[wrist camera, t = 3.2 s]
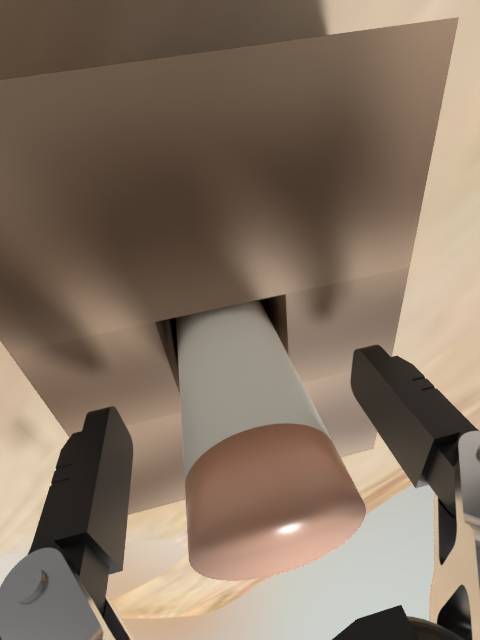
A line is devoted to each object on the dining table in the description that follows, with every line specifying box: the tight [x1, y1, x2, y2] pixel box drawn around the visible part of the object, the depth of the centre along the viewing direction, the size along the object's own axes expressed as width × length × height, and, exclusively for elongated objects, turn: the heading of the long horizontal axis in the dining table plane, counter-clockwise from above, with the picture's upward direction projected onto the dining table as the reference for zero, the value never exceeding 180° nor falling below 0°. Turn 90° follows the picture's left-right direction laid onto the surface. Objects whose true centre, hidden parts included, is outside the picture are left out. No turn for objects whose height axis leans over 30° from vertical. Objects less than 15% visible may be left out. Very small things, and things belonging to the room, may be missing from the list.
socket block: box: [0, 17, 459, 515], centre depth 15 cm, size 18×14×7 cm
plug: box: [176, 300, 366, 581], centre depth 12 cm, size 4×4×13 cm
